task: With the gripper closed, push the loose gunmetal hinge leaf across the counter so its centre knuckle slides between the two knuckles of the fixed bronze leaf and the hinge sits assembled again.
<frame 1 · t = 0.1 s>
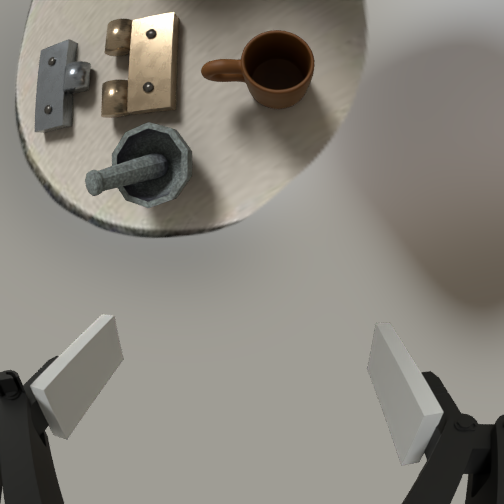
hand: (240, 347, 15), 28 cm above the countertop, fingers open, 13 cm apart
mug: (260, 83, 37), on the countertop
fixed leaf: (123, 70, 37), on the countertop
mortar and pestle: (163, 165, 41), on the countertop
loose leaf: (84, 80, 38), on the countertop
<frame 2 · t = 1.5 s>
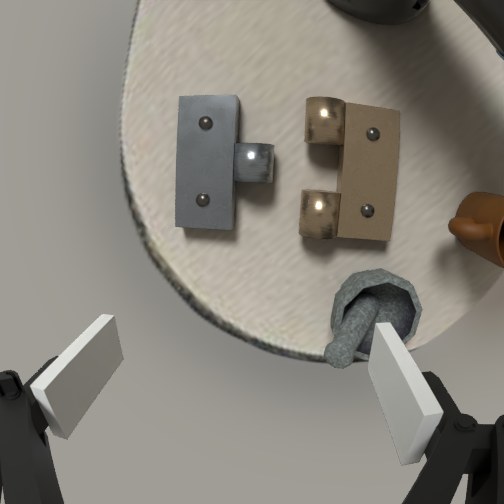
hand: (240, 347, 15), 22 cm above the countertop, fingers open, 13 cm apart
mug: (462, 218, 34), on the countertop
fixed leaf: (320, 167, 33), on the countertop
mortar and pestle: (357, 295, 37), on the countertop
loose leaf: (255, 162, 34), on the countertop
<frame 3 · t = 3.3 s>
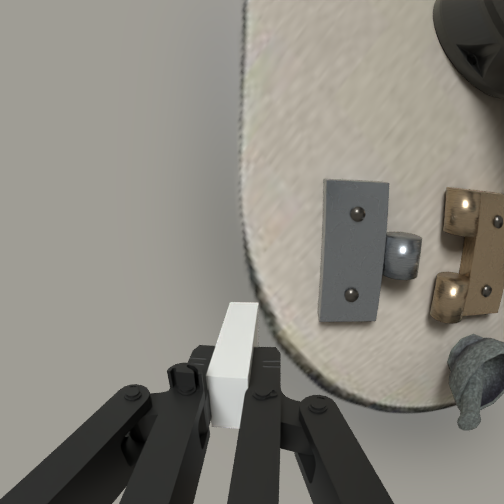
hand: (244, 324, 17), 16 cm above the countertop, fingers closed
fixed leaf: (449, 250, 31), on the countertop
mortar and pestle: (461, 355, 35), on the countertop
loose leaf: (394, 249, 32), on the countertop
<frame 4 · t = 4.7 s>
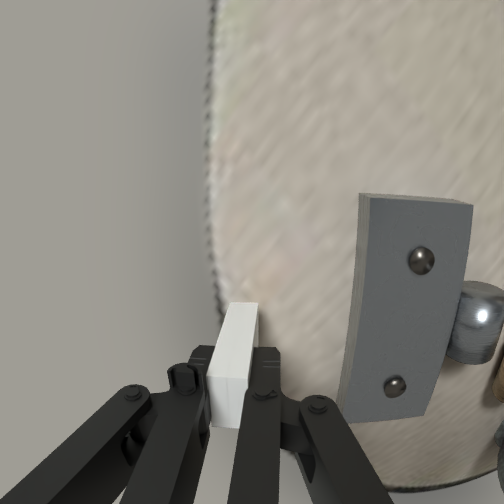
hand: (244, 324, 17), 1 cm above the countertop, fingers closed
loose leaf: (460, 307, 18), on the countertop
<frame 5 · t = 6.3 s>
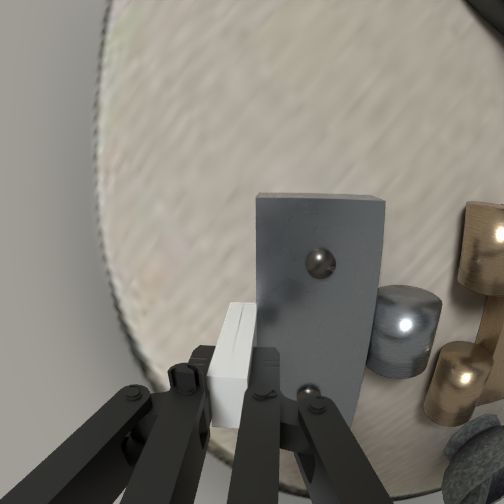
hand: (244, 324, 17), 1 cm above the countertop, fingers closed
fixed leaf: (463, 308, 18), on the countertop
mortar and pestle: (465, 439, 21), on the countertop
loose leaf: (391, 314, 18), on the countertop, touching gripper
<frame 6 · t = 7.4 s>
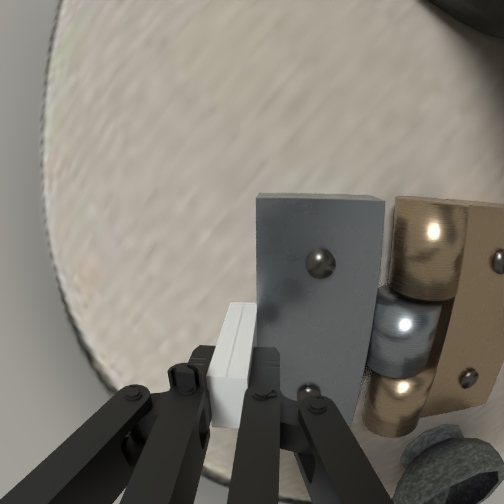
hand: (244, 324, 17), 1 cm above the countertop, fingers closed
fixed leaf: (403, 312, 18), on the countertop
mortar and pestle: (424, 448, 22), on the countertop
loose leaf: (391, 314, 18), on the countertop, touching gripper
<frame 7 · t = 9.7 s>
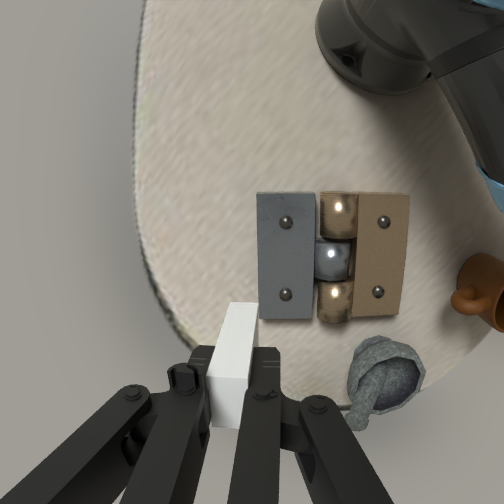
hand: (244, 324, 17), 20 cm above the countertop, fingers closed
mug: (463, 279, 36), on the countertop
fixed leaf: (334, 252, 36), on the countertop
mortar and pestle: (369, 355, 40), on the countertop
loose leaf: (328, 253, 36), on the countertop
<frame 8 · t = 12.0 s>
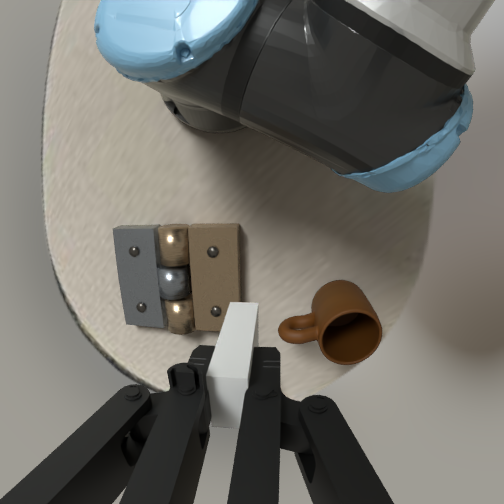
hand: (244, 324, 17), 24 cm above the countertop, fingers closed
mug: (321, 304, 43), on the countertop
fixed leaf: (181, 274, 43), on the countertop
loose leaf: (178, 275, 43), on the countertop
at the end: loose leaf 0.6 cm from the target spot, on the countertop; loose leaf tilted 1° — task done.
